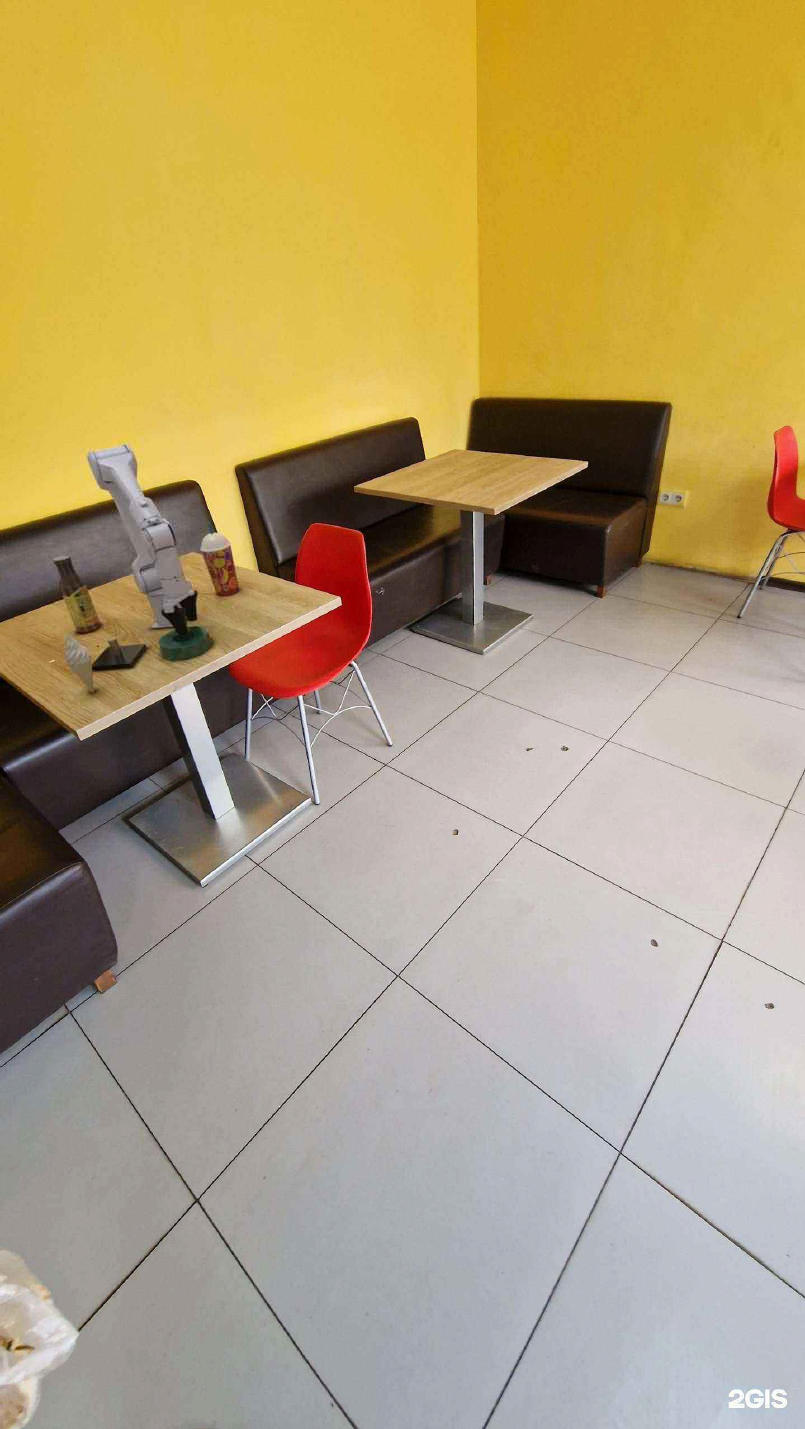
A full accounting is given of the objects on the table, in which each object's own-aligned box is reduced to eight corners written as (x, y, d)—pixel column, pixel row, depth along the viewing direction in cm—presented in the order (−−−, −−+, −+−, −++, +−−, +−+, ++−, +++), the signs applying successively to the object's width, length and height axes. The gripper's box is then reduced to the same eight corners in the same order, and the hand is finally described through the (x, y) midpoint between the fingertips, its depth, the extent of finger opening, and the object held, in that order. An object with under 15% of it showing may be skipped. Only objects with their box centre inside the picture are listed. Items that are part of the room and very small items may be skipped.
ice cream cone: (98, 683, 144) (72, 624, 136) (109, 689, 141) (83, 629, 133) (77, 694, 141) (49, 633, 133) (88, 700, 138) (60, 639, 130)
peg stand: (108, 651, 158) (100, 631, 155) (147, 648, 157) (139, 627, 154) (91, 671, 150) (82, 650, 147) (131, 667, 149) (123, 647, 146)
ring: (172, 639, 160) (168, 628, 158) (216, 635, 159) (213, 624, 157) (156, 661, 150) (151, 649, 149) (203, 658, 150) (199, 646, 148)
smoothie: (212, 589, 186) (193, 522, 175) (240, 583, 188) (223, 516, 177) (214, 599, 180) (194, 530, 168) (243, 593, 181) (225, 524, 170)
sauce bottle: (92, 633, 168) (62, 562, 157) (72, 633, 170) (41, 563, 159) (106, 623, 174) (78, 553, 163) (87, 623, 175) (58, 554, 164)
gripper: (177, 585, 142) (194, 639, 150) (196, 562, 154) (211, 613, 162) (147, 588, 143) (166, 641, 150) (169, 565, 155) (185, 615, 162)
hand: (188, 627), depth 156 cm, fingers open, 7 cm apart
